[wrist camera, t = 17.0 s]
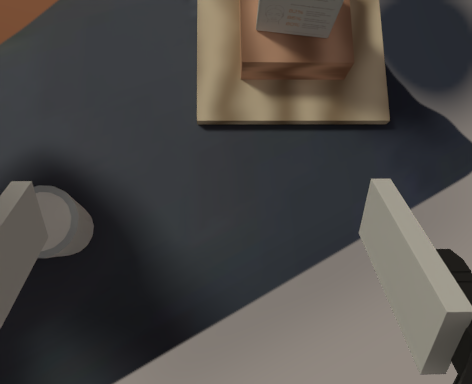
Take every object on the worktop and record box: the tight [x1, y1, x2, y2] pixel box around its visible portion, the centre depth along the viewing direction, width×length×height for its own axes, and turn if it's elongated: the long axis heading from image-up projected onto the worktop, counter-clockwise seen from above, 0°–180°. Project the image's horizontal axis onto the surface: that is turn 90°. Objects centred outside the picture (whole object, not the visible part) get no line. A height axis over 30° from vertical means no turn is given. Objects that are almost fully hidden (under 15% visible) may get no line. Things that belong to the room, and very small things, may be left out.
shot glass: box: [34, 185, 94, 258], centre depth 42 cm, size 7×7×7 cm
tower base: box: [197, 0, 390, 124], centre depth 49 cm, size 22×22×5 cm
